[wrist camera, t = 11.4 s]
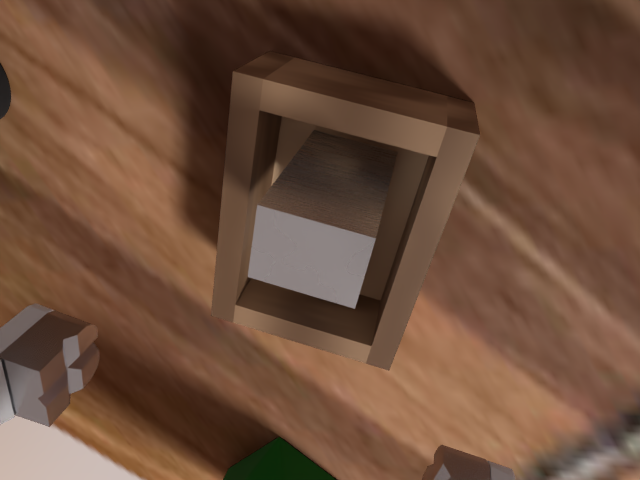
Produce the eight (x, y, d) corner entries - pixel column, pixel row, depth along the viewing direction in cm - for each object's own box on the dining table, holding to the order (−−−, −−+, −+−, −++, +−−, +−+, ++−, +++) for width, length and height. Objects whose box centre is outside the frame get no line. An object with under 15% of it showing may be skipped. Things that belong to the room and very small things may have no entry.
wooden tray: (474, 102, 21) (480, 135, 17) (396, 314, 28) (389, 370, 24) (269, 51, 22) (232, 71, 18) (242, 267, 29) (211, 315, 25)
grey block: (397, 152, 22) (375, 238, 15) (362, 272, 26) (332, 384, 19) (313, 130, 23) (257, 205, 16) (291, 252, 26) (237, 354, 20)
